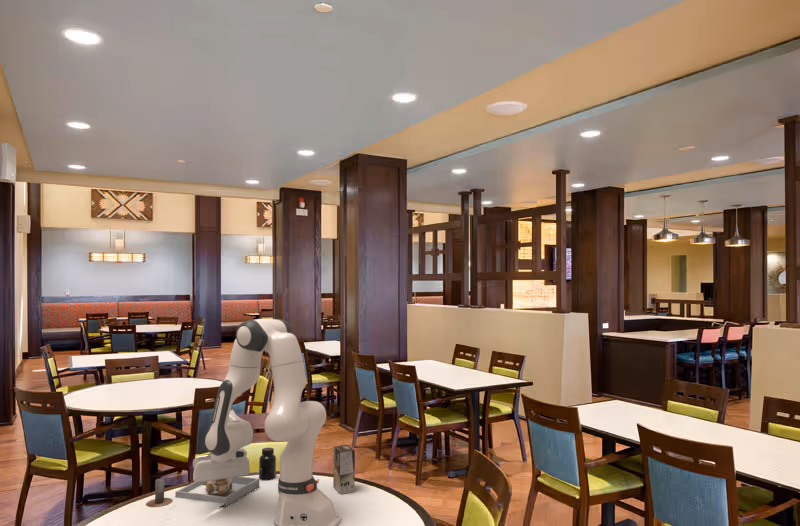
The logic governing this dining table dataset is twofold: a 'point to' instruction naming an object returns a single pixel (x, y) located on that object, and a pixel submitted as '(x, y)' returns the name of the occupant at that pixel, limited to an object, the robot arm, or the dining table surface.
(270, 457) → the supplement bottle
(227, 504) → the tray
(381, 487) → the dining table surface
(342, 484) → the coffee box
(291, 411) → the robot arm
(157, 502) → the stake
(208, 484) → the tabbed frame
